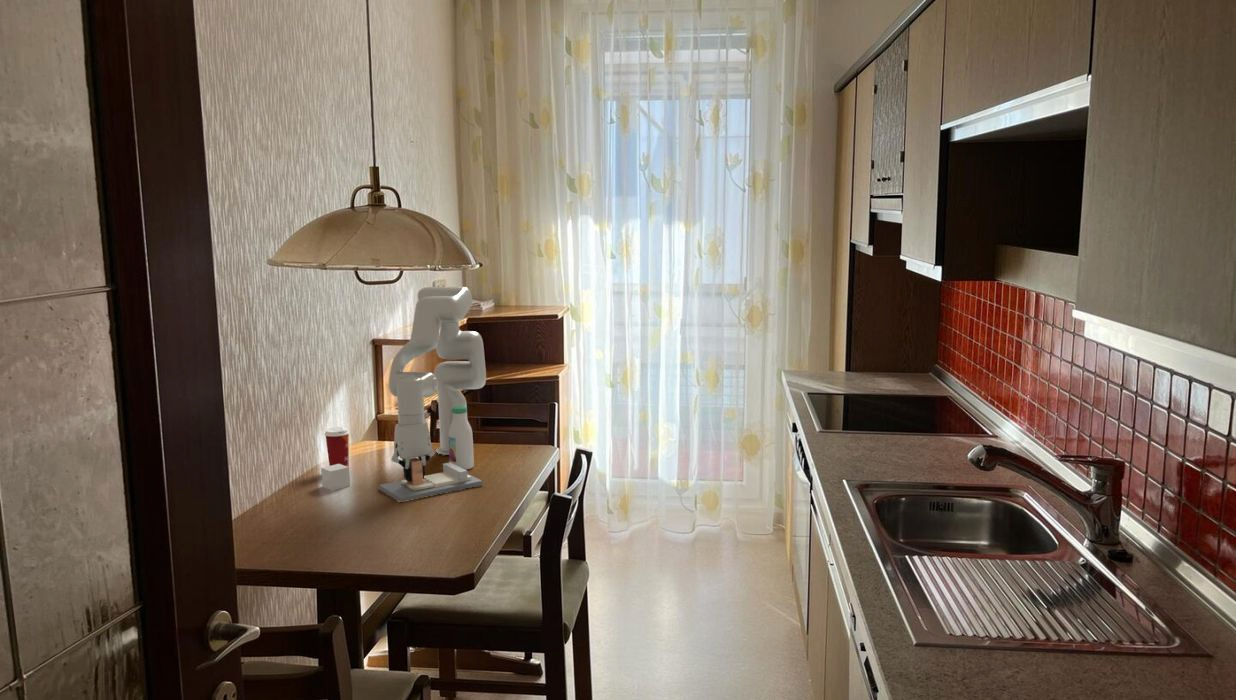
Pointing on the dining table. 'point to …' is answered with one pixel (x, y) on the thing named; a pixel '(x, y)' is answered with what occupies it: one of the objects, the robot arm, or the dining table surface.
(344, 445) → the paper cup
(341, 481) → the white cube
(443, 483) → the holder
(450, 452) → the milk bottle
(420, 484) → the stub
